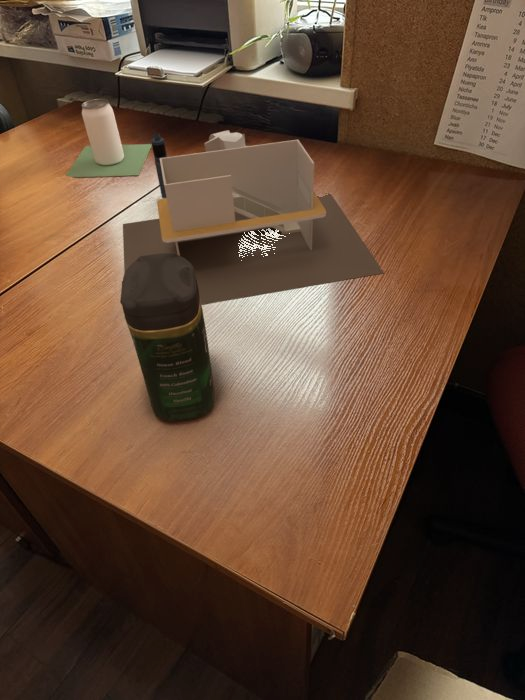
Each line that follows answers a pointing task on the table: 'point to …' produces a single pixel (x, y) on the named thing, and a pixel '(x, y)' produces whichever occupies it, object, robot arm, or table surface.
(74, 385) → the table surface
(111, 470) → the table surface
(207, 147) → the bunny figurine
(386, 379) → the table surface
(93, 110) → the can
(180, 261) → the coffee jar
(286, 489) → the table surface
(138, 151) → the mat
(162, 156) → the vaping device
